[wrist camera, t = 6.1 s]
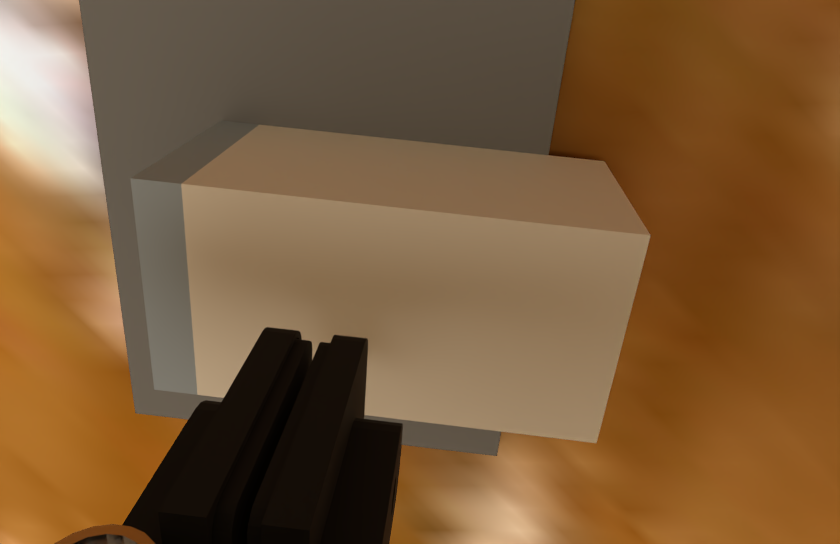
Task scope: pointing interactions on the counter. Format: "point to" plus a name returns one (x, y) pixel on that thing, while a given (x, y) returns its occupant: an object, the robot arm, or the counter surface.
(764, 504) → the counter surface
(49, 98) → the counter surface
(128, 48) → the mat
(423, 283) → the block
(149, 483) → the robot arm
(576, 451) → the counter surface
